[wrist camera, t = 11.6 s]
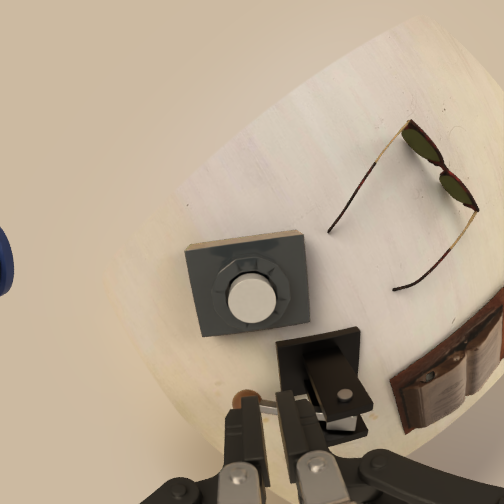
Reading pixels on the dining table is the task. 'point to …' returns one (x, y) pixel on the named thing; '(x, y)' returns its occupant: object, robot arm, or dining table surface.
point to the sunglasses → (448, 180)
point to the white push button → (251, 298)
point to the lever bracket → (327, 378)
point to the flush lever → (271, 408)
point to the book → (452, 369)
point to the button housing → (243, 262)
